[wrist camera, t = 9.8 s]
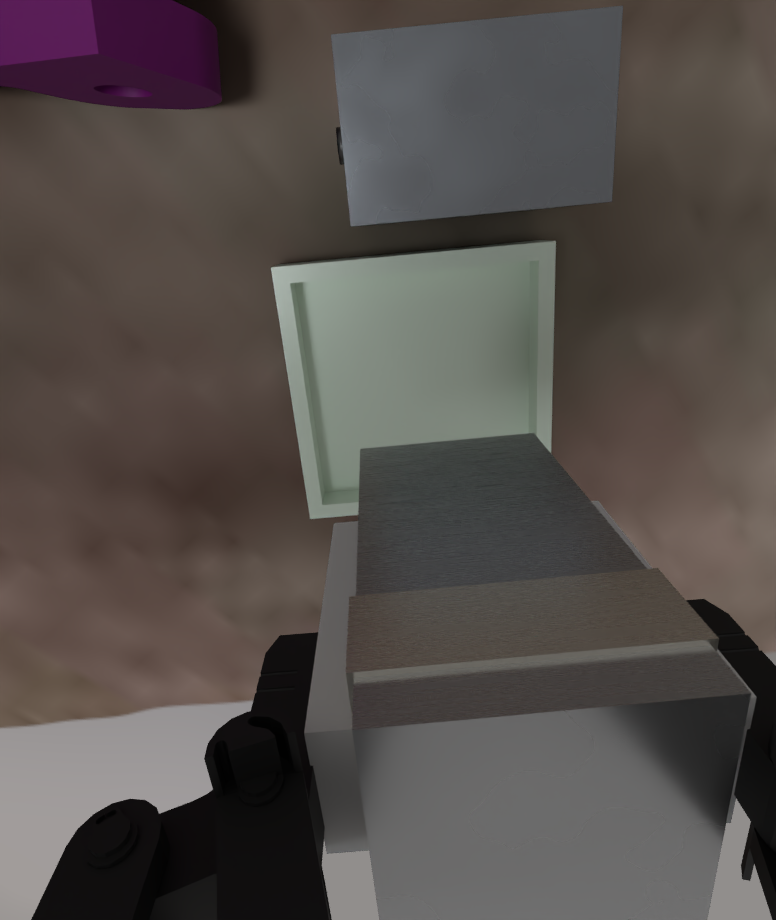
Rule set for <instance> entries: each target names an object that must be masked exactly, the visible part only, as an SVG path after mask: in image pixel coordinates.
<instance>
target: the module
mask: <svg viewBox="0 0 776 920" xmlns="http://www.w3.org/2000/svg"><path fill="white" fill-rule="evenodd" d="M718 642H719V638H718V637H717V636H716V635H715V633H714V632H713V631H712V630H711V629H710V628H709V626H708V625H707V624H706V623H705V622H704V621H703V620H702V618H701V617H700V616H699V615H698V614H697V613H696V612H695V610H694V609H693V608H692V607H691V606H690V605H689V603H688V602H687V601H686V600H685V599H684V598H683V597H682V595H681V594H680V593H679V592H678V591H677V590H676V588H675V587H674V586H673V585H672V584H671V583H670V582H669V580H668V579H667V578H666V577H665V576H664V575H663V574H662V572H661V571H660V570H659V569H658V568H652V569H647V568H646V567H645V566H644V564H643V563H642V562H641V561H640V560H639V558H638V557H637V556H636V555H635V554H634V552H633V551H632V550H631V549H630V548H629V546H628V545H627V544H626V543H625V542H624V540H623V539H622V538H621V537H620V536H619V534H618V533H617V532H616V531H615V530H614V528H613V527H612V526H611V525H610V524H609V522H608V521H607V520H606V519H605V518H604V516H603V515H602V514H601V513H600V512H599V510H598V509H597V508H596V507H595V506H594V504H593V503H592V502H591V501H590V500H589V498H588V497H587V496H586V495H585V494H584V492H583V491H582V490H581V489H580V488H579V486H578V485H577V484H576V483H575V482H574V480H573V479H572V478H571V477H570V476H569V475H568V473H567V472H566V471H565V470H564V469H563V467H562V466H561V465H560V464H559V463H558V461H557V460H556V459H555V458H554V457H553V455H552V454H551V453H550V452H549V451H548V449H547V448H546V447H545V446H544V445H543V443H542V442H541V441H540V440H539V439H538V437H537V436H536V435H535V434H534V433H527V434H516V435H505V436H494V437H483V438H472V439H461V440H450V441H439V442H429V443H418V444H407V445H396V446H385V447H374V448H363V449H360V474H359V509H358V543H357V578H356V596H349V613H348V634H347V655H346V679H347V686H348V693H349V700H350V707H351V714H352V733H353V740H354V747H355V754H356V761H357V768H358V775H359V782H360V789H361V796H362V803H363V810H364V817H365V824H366V830H367V837H368V844H369V851H370V858H371V865H372V872H373V879H374V886H375V892H376V900H377V906H378V914H379V920H707V917H708V913H709V908H710V903H711V897H712V892H713V887H714V882H715V877H716V872H717V866H718V862H719V857H720V851H721V846H722V841H723V836H724V831H725V826H726V821H727V816H728V810H729V805H730V800H731V795H732V790H733V785H734V780H735V774H736V769H737V764H738V759H739V754H740V749H741V744H742V739H743V733H744V728H745V723H746V718H747V713H748V708H749V703H750V698H751V692H750V691H749V690H748V689H747V688H746V686H745V685H744V684H743V683H742V682H741V680H740V679H739V678H738V677H737V676H736V674H735V673H734V672H733V671H732V670H731V668H730V667H729V666H728V665H727V664H726V662H725V661H724V660H723V659H722V658H721V656H720V655H719V654H718V653H717V648H718Z"/></svg>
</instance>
